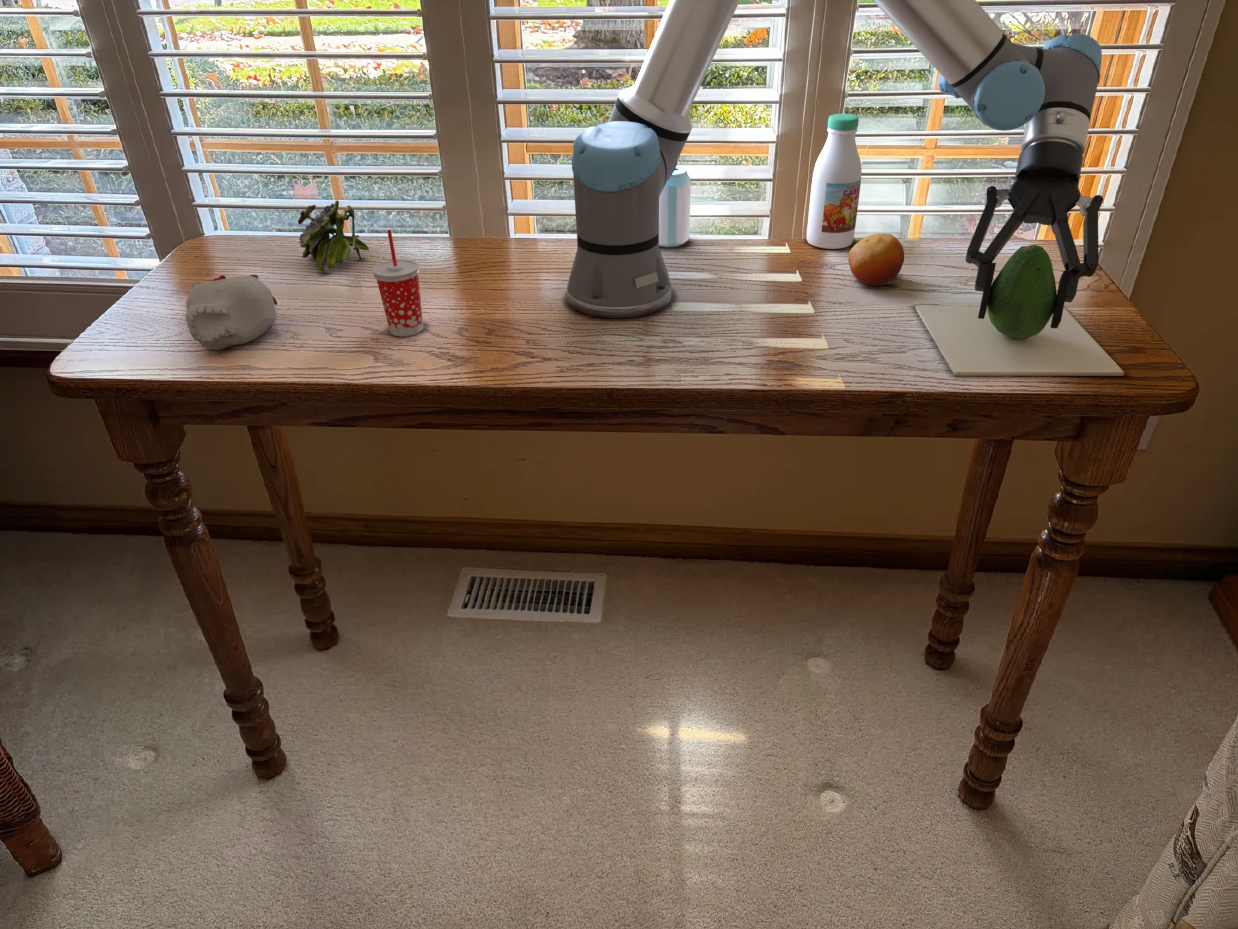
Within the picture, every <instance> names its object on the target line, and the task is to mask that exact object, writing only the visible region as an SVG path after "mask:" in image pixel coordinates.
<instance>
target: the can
mask: <svg viewBox="0 0 1238 929" xmlns="http://www.w3.org/2000/svg"><path fill="white" fill-rule="evenodd" d="M691 183H692V180H691V177H690V176H689V174H688V169H687V168H686V167H685V166H681V165H677V166H676V168H675V170H674V172H673V174H672V176H671V177H670V179H669V180H668V181H667V182H666V184H665V186H664V188H663V190H662V192H661V194H660V196H659V247H662V248H675V247H680V246H682V245H684V244H685V243H686V242H688V241H689V239H690V233H691V232H690V230H691V229H690V228H691V227H690V226H691V189H692V188H691V187H692V184H691Z"/></svg>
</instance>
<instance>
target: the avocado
mask: <svg viewBox="0 0 1238 929" xmlns="http://www.w3.org/2000/svg"><path fill="white" fill-rule="evenodd" d="M1053 268H1054V267H1053V263H1052V259H1051V257H1050V255H1049V253H1048V252H1047V251H1046V250H1045V248H1044V246H1041V245H1038V244H1029V245H1021V246H1020V247H1019V248H1018V249H1017V250H1016V251H1014V252H1013V253H1012V255H1011V256H1010V257H1009V259H1007V261H1006V262H1005V264H1004V265H1003V267H1002V268H1001V269H1000V271H999V272H998V274H997V275H996V277H995V279H993V281H992V286H991V290H990V295H989V300H988V305H987V310H988V315H989V318H990V321H991V323H992V324H993V325H994V327H995V328H996V329H997V330H998V331H999V332H1001V333H1002V334H1004V335H1007V336H1009V337H1011V338H1016V339H1027V338H1029V337H1031V336H1034V335H1036V334H1038V333H1039V332H1040V331H1042V330H1043V328H1044V327H1045V326H1046V325H1047V323H1048V321H1049V320H1050V318H1051V316H1052V315H1053V312H1054V308H1055V303H1056V298H1057V284H1056V278H1055V273H1054V269H1053Z"/></svg>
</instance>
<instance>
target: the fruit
mask: <svg viewBox="0 0 1238 929" xmlns="http://www.w3.org/2000/svg"><path fill="white" fill-rule="evenodd" d="M847 258H848V260H847V261H848V265H849V268H850V271H851V274H852V275H853V277H854V278H855V279H857V280H858V282H860V283H862V284H864V285H866V286H870V287H878V286H879V287H880V286H882V285H894V283H895V280H896V279H897V277H898V275H899V274H900V272H901V270H902V268H903V265H904V263H905V250H904V247H903V245H902V243H901V241H900V240H899V239H898V238H897V237H896V236H894V235H893V234H890V233H875V234H870V235H868V236H866V237H864V238H862V239H861V240H859V241H858V242H856V244H854V245H853V247H852V248H851V249H850V250H849V252H848V257H847Z"/></svg>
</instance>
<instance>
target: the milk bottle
mask: <svg viewBox="0 0 1238 929" xmlns="http://www.w3.org/2000/svg"><path fill="white" fill-rule="evenodd" d="M859 118H860V117H859V116H857V115H855V114H851V113H835V114H831V115H829V116H828V119H827V133H828V134H827V138H826V140H825V141H826V142H825V143H824V146H823V148H822V150H821V152H820V153H819V155H818V157H817V159H816V162H815V165H814V168H813V172H812V180H811V181H812V182H811V188H810V198H809V206H808V207H809V208H808V216H807V217H808V218H807V227H806V241H807V243H808V244H809V245H811V246H813V247H817V248H820V249H826V250H827V249H829V250H837V249H843V248H848V247H849V246H851V245H852V244H853V242H854V239H855V234H856V233H855V231H856V224H857V217H858V209H859V201H860V192H861V183H862V162H861V157H860V155H859V154H860V153H859V151H858V148H857V142H856V133H857V132H858V128H859V121H860V120H859Z"/></svg>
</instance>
